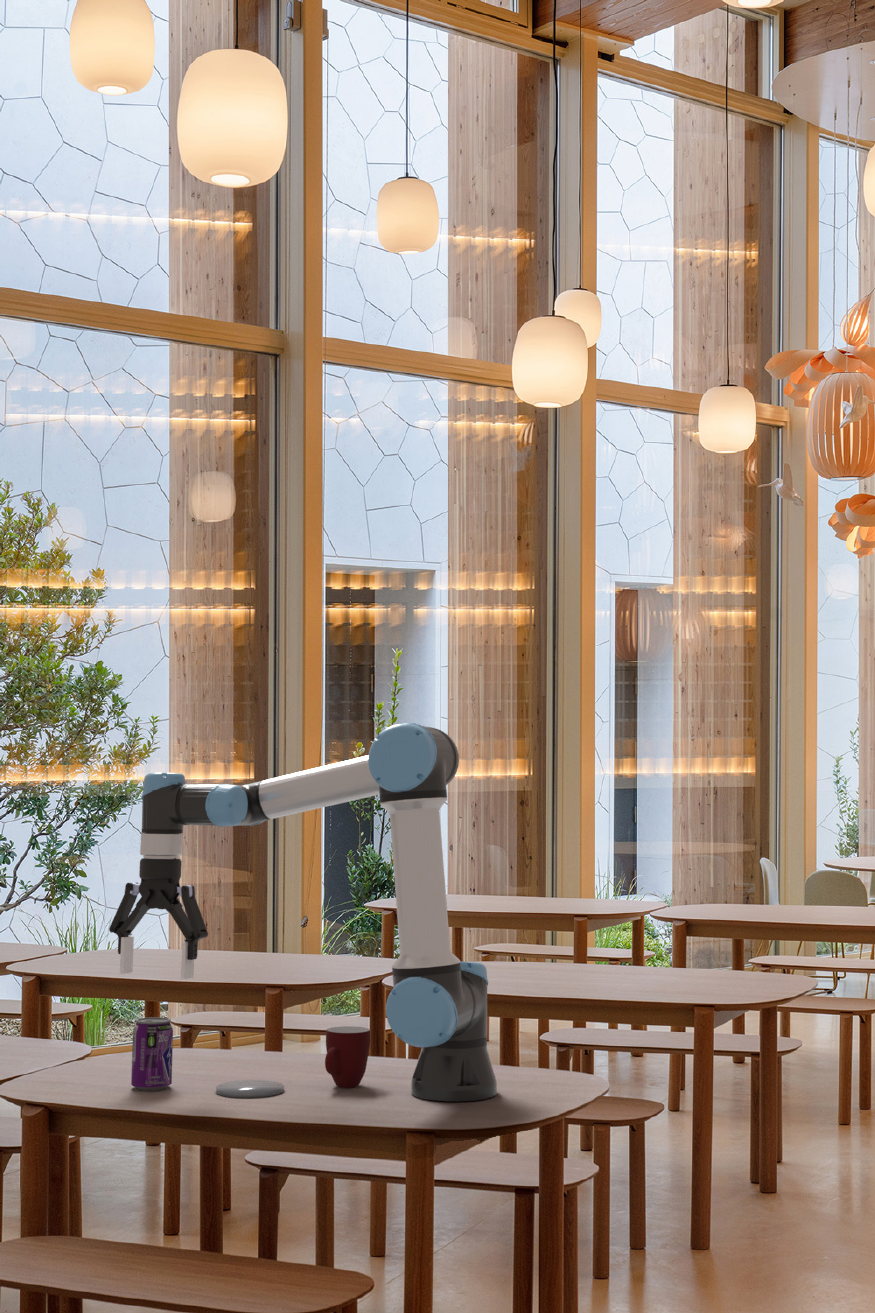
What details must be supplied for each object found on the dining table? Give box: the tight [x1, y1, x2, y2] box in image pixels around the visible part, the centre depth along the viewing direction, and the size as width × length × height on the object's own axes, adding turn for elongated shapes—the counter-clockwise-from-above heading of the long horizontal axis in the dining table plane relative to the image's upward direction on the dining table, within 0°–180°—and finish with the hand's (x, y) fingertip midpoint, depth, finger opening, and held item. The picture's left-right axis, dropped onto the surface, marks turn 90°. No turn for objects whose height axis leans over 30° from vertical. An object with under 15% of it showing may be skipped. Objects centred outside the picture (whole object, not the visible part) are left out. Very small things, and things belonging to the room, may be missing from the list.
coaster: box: [215, 1079, 285, 1099], centre depth 248 cm, size 12×12×1 cm
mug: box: [324, 1025, 371, 1089], centre depth 252 cm, size 11×8×10 cm
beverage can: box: [130, 1016, 174, 1092], centre depth 251 cm, size 7×7×12 cm
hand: (156, 975), depth 253 cm, fingers open, 13 cm apart
